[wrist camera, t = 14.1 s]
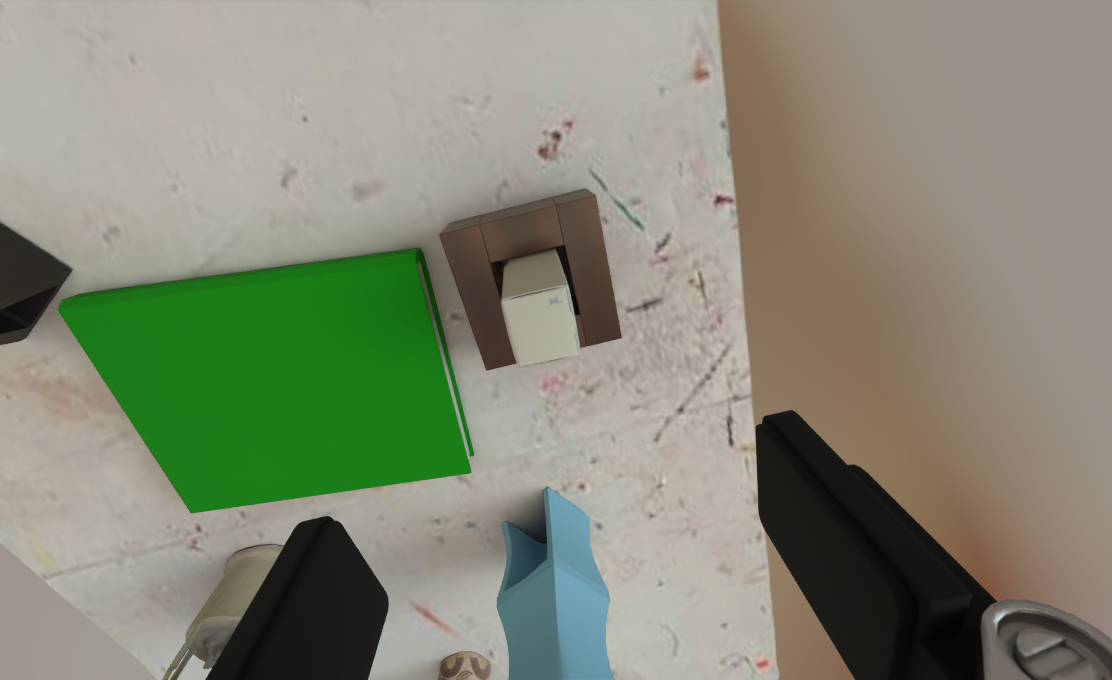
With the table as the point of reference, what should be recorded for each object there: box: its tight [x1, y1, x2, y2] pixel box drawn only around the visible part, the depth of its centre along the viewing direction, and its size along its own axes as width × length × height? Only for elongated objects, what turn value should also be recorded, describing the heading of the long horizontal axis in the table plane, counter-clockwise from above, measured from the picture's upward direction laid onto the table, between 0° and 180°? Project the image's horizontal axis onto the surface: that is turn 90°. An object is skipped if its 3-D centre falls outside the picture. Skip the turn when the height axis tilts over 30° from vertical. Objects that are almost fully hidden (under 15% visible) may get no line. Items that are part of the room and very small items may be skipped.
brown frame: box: [439, 189, 622, 370], centre depth 36 cm, size 12×12×5 cm
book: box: [58, 248, 474, 513], centre depth 40 cm, size 22×28×3 cm
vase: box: [497, 487, 614, 680], centre depth 42 cm, size 8×8×20 cm
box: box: [501, 247, 581, 368], centre depth 32 cm, size 5×4×13 cm
